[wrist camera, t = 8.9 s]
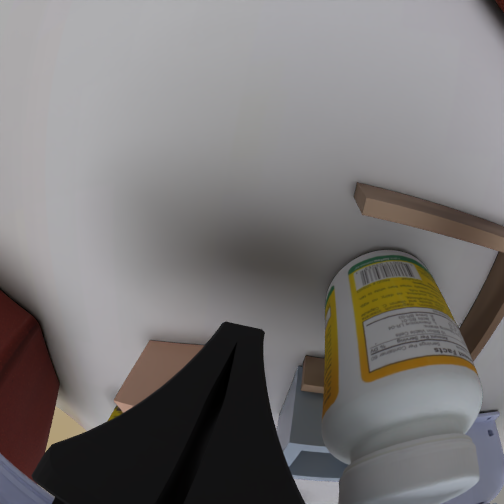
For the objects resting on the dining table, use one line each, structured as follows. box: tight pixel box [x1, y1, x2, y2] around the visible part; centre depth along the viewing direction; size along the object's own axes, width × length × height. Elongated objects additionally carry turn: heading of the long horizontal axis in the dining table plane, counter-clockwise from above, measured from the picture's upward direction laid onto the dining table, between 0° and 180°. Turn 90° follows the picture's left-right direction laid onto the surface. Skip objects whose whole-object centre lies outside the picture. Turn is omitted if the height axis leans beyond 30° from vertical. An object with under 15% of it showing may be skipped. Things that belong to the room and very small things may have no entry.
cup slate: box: [277, 366, 348, 482], centre depth 15 cm, size 6×6×5 cm
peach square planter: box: [114, 340, 205, 413], centre depth 15 cm, size 6×6×5 cm
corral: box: [301, 182, 504, 394], centre depth 12 cm, size 9×10×2 cm
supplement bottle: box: [322, 250, 483, 504], centre depth 8 cm, size 5×5×10 cm
